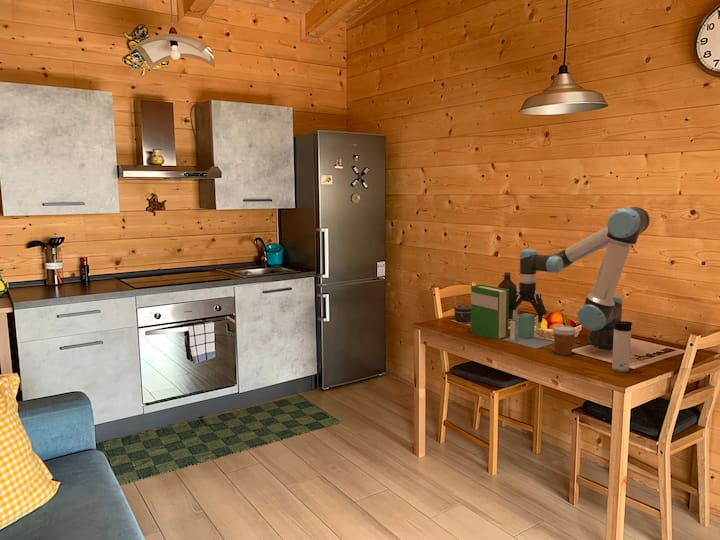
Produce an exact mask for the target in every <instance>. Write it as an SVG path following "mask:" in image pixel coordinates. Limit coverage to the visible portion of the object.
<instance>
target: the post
mask: <svg viewBox="0 0 720 540" xmlns="http://www.w3.org/2000/svg"><path fill="white" fill-rule="evenodd" d="M509 326H510V327H509V329H510V331H509V332H510V333H509V335H510V336H509V337H510V339H507V340H509V341H508V342H510V341H512V342H511V343H513V342H517V341H521V340H520V339H518V330H519V319H517V320H513V319H511V320H510V325H509Z"/></svg>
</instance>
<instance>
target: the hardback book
mask: <svg viewBox="0 0 720 540" xmlns="http://www.w3.org/2000/svg"><path fill="white" fill-rule="evenodd" d="M470 288H471V290H470V291H471V292H470V293H471V294H470V295H471V297H470V298H471V299H470V303H471V305H470V306H471V321H470V333H471V334H473V335H476V336H479V337H482V338H486V339H488V340H489V339H490V340H491V339H494V340H499V339H502V338H503V339H504V338H509V319H508V318H509V289H503V288H498V286H493V285H488V284H487V285H486V284H477V285H471V287H470Z"/></svg>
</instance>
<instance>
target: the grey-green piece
mask: <svg viewBox="0 0 720 540" xmlns="http://www.w3.org/2000/svg"><path fill="white" fill-rule="evenodd" d="M535 316H536V315H535V314H532V313H527V312H523V313H521V314H518V321H519V324H518V336H520V337H524V338H530V337H535V325H536V317H535Z"/></svg>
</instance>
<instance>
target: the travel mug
mask: <svg viewBox="0 0 720 540" xmlns="http://www.w3.org/2000/svg"><path fill="white" fill-rule="evenodd" d="M632 326H633V322H632V321H629V320H625V321H624V320H621V321H619V322H616V323H614V338H613V350H612V360H611V361H612V362H611V370H613V372H617V373H629V371H630V361H631V344H632Z"/></svg>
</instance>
